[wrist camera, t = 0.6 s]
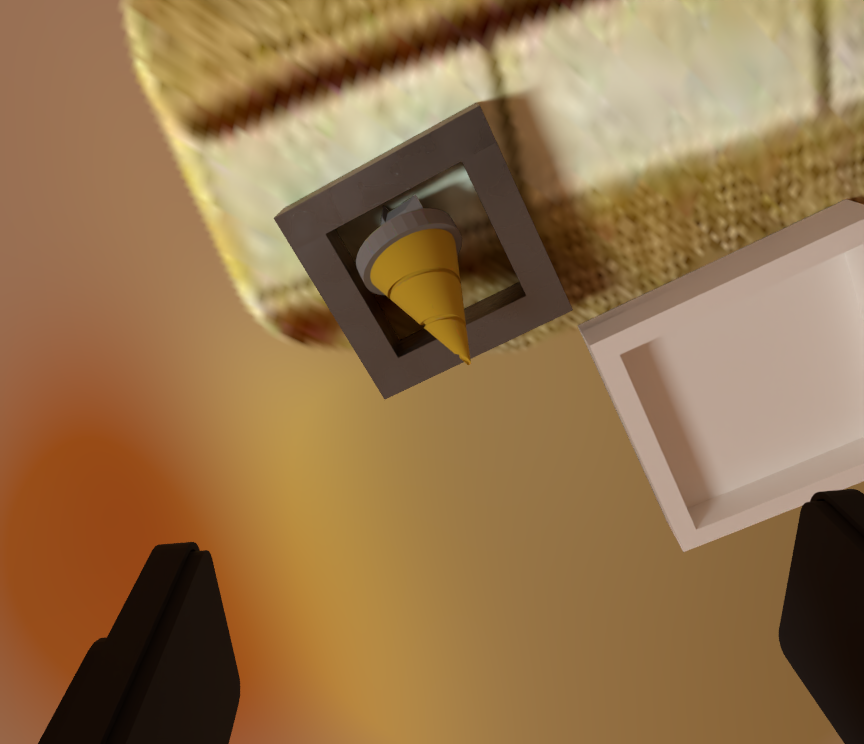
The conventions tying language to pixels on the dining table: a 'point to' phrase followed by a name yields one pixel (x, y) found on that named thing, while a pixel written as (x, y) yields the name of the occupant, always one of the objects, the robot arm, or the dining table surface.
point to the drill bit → (419, 270)
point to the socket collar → (385, 179)
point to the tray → (745, 377)
